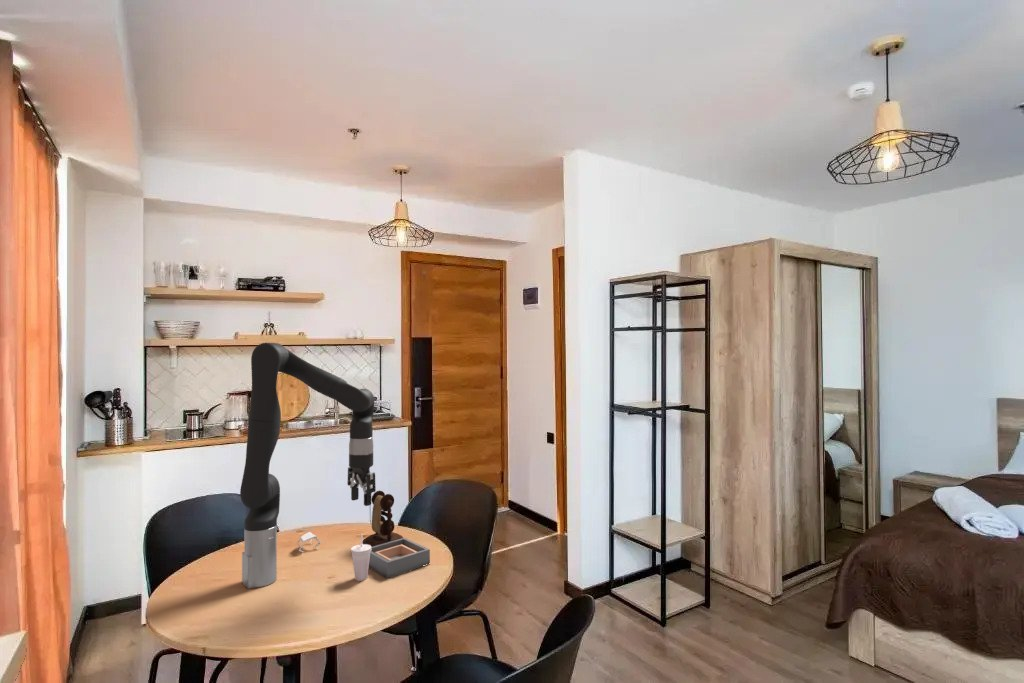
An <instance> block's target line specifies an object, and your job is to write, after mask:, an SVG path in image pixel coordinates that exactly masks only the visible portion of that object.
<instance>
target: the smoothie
mask: <svg viewBox="0 0 1024 683" xmlns="http://www.w3.org/2000/svg"><path fill="white" fill-rule="evenodd" d="M363 535H364V534H363V532H361V533H360V544H357V545H353V546H352V547H351V548H350V553H351V556H352V565H353V572H354V579H355V581H358V582H361V581H365V580H367V579H368V575H369V569H370V568H369V560H370V551H371V550H372V549H371V546H370V545H367V544H363V540H364V538H363V537H364V536H363Z"/></svg>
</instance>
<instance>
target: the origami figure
mask: <svg viewBox="0 0 1024 683" xmlns="http://www.w3.org/2000/svg"><path fill="white" fill-rule="evenodd" d="M313 539H314V540H315V541H317V544H315V545H314V548H315V549H317V550H318V549H319V548H318V546H320V545H321V544H322V542H321V540H319V538H318V535H315V534H314V533H312V532H311V531H308V532H307V533H305V534H302V535H301V536H300V537H299V540H297V542H296V544H297V545H298V547H299V549H298V551H299V552H301V554H300V555H303V554H304V551H303V550H302V547H303V546H304V544H305V542H308V541H309V544H310V545H313V543H312V541H313ZM299 542H301V545H300V543H299Z"/></svg>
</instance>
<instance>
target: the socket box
mask: <svg viewBox="0 0 1024 683" xmlns="http://www.w3.org/2000/svg"><path fill="white" fill-rule="evenodd" d="M371 549H372V550H371V551H370V560H369V568H368V569H371V570H373V571H375V572H376V573H378V574H379V575H381V576H383V577H384V578H386V579H390V578H393V577H396V576H400V575H403V574H405V572H406V573H409V572H411V571H414V570H417V569H419V568H418V567H420V568H422V567H421V566H423V565H426V564H429V563H430V564H431V549H430V548H429V547H426V546H424V545H421V544H419V543H417V542H415V541H413V540H411V539H408V538H407V537H403V538H402V539H398V540H395V541H391V542H388V543H384V544H381V545H377V546H373V547H371ZM430 564H429V565H430ZM426 566H427V565H426ZM423 567H424V566H423ZM416 568H417V569H416ZM413 569H414V570H413ZM410 570H411V571H410Z"/></svg>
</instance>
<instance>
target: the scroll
mask: <svg viewBox="0 0 1024 683" xmlns="http://www.w3.org/2000/svg"><path fill="white" fill-rule="evenodd" d="M394 503H395V498H394V496H393V495H392V494H391V493H385V492H384V491H383V490H376V491H375V492H373V494H372V495H371V504H372V512H371V513H372V514H371V529H372V532H374V533H373V534H370V535H368V536H367V537H365V538H363V544H367V545H370V546H371V547H373V546H377V545H381V544H384V543H388V542H391V541H395V540H398V539H402V538H404V537H403V535H401V534H400V533H397V532H393V531H394V530H395V521H393V515H394V514H393V513H392V507H393V505H394Z"/></svg>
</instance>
